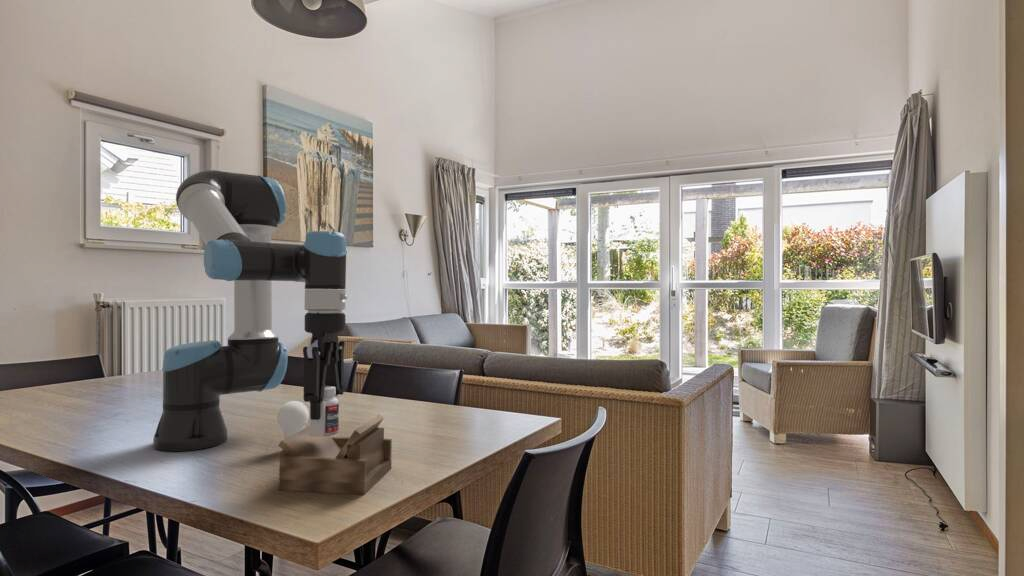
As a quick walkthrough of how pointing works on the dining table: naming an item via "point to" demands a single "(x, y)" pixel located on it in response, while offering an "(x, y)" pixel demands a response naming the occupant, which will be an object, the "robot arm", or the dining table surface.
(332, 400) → the pill bottle
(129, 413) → the dining table surface
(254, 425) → the dining table surface
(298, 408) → the light bulb
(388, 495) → the dining table surface
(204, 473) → the dining table surface
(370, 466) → the wooden box with flaps
